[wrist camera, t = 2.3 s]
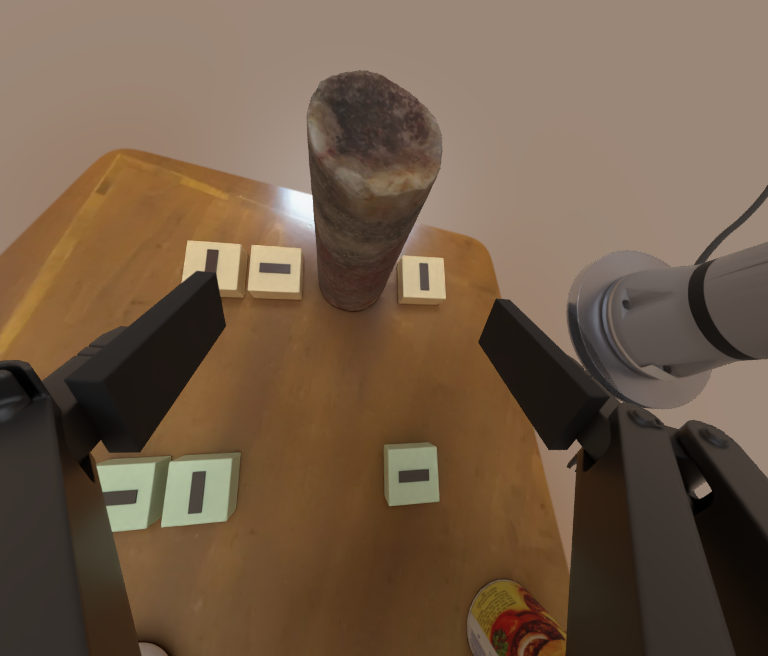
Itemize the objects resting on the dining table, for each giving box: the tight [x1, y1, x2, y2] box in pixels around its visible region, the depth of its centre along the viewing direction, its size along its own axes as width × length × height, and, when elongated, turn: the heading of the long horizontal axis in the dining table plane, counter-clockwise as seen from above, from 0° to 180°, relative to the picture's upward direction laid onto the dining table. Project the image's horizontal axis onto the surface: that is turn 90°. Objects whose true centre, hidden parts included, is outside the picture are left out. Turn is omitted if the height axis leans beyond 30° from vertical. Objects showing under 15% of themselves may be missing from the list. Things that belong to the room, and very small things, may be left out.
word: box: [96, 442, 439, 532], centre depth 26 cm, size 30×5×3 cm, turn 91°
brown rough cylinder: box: [307, 70, 442, 311], centre depth 23 cm, size 8×7×20 cm
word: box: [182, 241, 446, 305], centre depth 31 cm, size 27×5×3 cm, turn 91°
